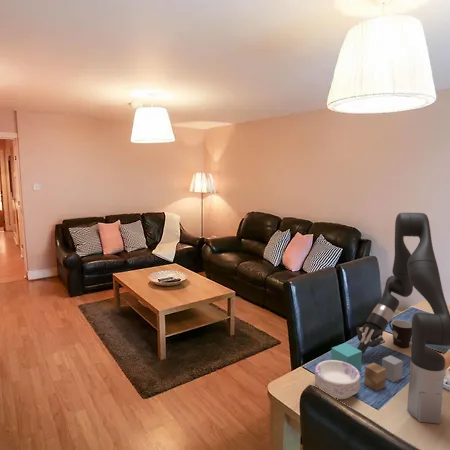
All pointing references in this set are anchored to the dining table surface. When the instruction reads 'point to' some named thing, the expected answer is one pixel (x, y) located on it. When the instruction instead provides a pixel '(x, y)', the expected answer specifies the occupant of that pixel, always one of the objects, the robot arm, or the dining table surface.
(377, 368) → the walnut block
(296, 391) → the dining table surface
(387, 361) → the slate-grey block
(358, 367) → the teal block
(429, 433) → the dining table surface
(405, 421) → the dining table surface
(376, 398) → the dining table surface
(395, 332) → the coffee mug
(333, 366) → the paper bowls
